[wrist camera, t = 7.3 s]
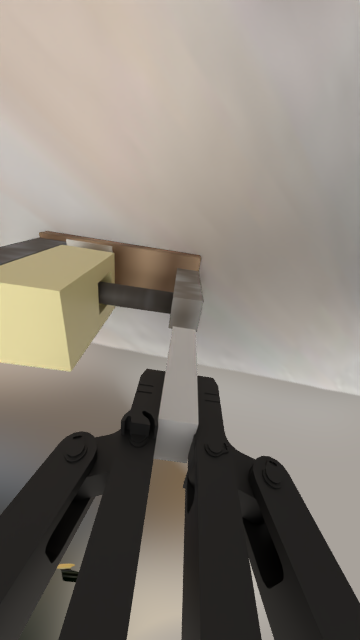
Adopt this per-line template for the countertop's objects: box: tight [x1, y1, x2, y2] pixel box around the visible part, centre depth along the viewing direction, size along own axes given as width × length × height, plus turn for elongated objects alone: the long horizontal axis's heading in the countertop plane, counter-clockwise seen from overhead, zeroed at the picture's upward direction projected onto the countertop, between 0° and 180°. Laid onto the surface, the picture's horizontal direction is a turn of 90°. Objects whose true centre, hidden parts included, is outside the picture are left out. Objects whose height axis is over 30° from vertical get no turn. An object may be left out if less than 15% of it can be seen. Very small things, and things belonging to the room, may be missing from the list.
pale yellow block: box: [0, 245, 115, 372], centre depth 17 cm, size 5×6×10 cm
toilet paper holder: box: [0, 231, 203, 332], centre depth 21 cm, size 18×6×12 cm, turn 82°
